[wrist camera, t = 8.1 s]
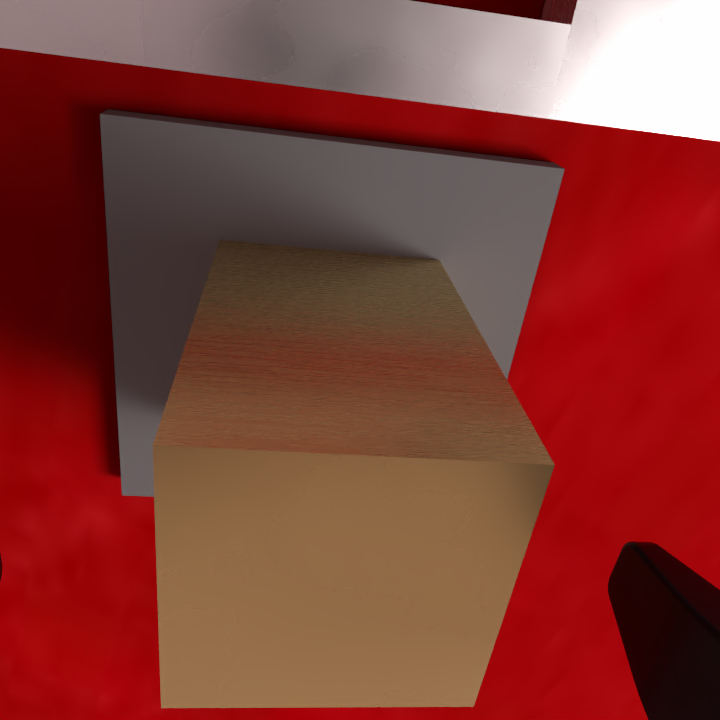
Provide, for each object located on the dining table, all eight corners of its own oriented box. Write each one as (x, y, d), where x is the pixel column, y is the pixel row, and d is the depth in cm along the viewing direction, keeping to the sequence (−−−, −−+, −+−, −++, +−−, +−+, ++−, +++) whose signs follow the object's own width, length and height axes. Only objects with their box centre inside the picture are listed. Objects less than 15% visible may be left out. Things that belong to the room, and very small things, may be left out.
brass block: (439, 259, 14) (554, 464, 8) (405, 436, 16) (474, 706, 10) (219, 240, 13) (152, 444, 7) (215, 426, 15) (161, 707, 9)
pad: (554, 162, 14) (564, 168, 13) (466, 494, 18) (471, 509, 17) (108, 109, 12) (99, 113, 12) (127, 479, 16) (122, 495, 16)
